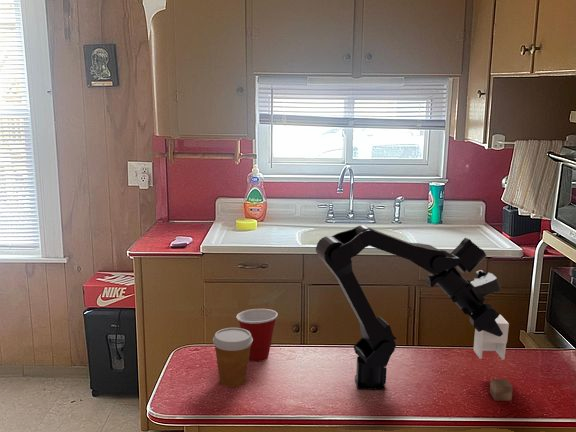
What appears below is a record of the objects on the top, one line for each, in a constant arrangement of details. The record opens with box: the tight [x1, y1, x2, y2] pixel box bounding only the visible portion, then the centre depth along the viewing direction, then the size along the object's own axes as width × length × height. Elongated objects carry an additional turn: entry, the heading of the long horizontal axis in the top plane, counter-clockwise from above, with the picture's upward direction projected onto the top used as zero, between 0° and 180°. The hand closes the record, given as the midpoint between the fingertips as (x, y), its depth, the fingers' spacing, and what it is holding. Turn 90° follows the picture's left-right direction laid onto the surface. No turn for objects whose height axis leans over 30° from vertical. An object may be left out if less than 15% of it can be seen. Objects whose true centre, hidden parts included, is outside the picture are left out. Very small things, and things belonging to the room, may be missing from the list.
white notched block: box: [473, 314, 510, 360], centre depth 153 cm, size 6×6×10 cm
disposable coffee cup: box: [212, 327, 253, 388], centre depth 149 cm, size 10×10×12 cm
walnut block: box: [489, 378, 514, 402], centre depth 145 cm, size 4×4×4 cm
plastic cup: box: [235, 308, 278, 362], centre depth 163 cm, size 11×11×12 cm
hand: (496, 330), depth 152 cm, fingers closed on white notched block, 6 cm apart
